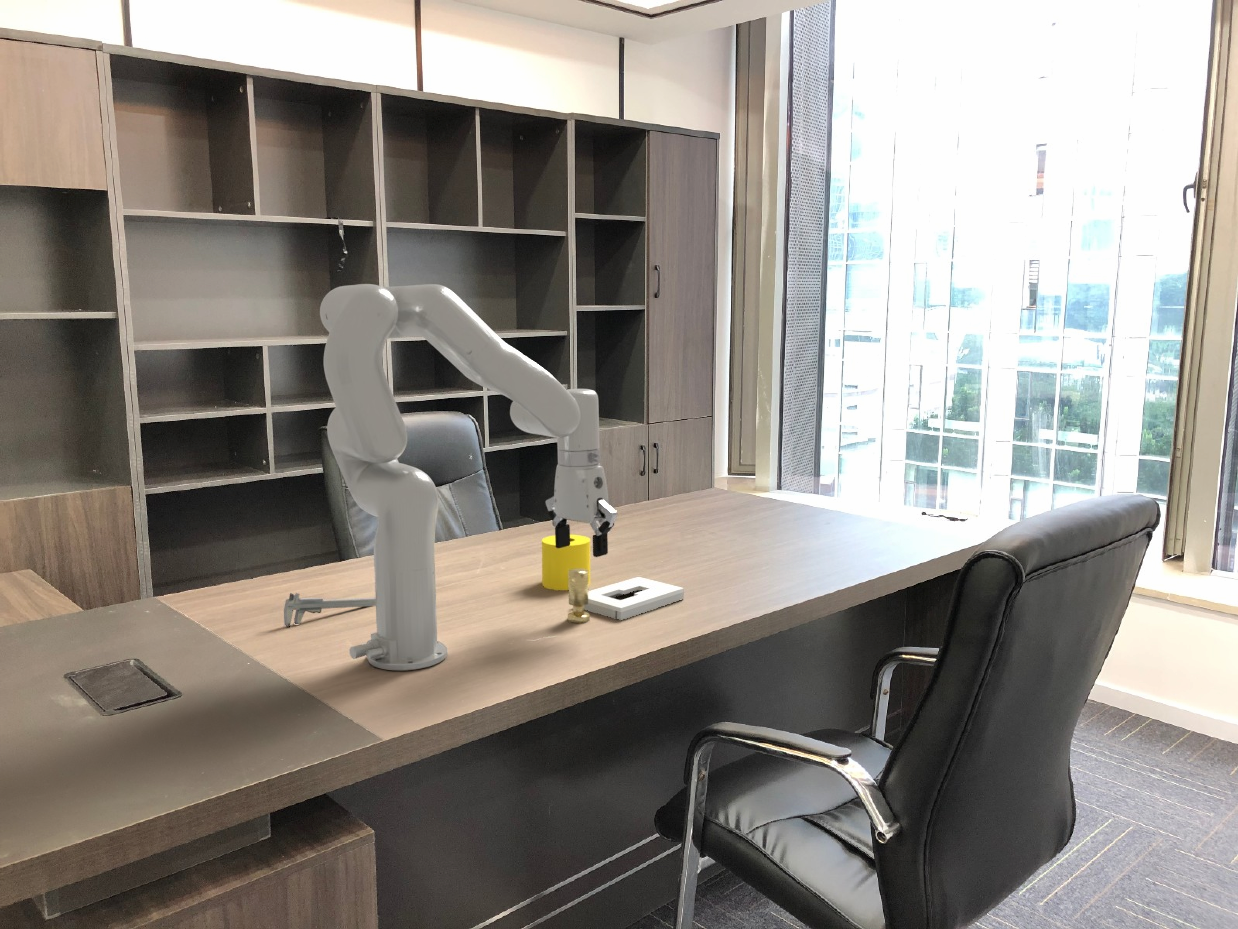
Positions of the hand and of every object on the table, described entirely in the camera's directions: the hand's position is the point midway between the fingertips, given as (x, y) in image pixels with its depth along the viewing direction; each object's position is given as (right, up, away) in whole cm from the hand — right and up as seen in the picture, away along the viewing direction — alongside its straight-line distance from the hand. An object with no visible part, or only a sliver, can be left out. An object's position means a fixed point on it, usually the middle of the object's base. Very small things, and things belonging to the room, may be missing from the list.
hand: (581, 551), depth 172 cm
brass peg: (-1, -13, +2) cm, 13 cm away
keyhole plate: (+9, -11, +12) cm, 19 cm away
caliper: (-46, -13, +5) cm, 48 cm away
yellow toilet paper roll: (-4, -9, +25) cm, 27 cm away
